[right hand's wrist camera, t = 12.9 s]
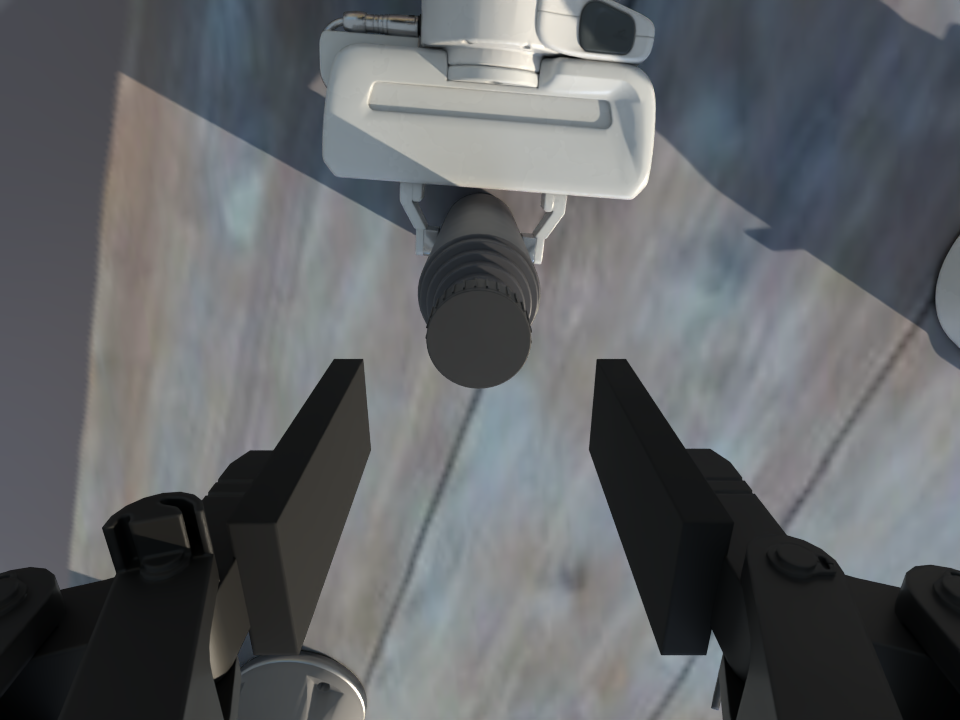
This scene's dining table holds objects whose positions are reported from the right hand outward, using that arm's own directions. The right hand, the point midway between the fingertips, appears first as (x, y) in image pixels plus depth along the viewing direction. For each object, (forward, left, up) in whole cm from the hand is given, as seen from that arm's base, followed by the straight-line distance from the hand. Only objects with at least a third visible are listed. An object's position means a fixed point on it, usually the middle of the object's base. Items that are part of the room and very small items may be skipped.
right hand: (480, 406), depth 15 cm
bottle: (0, 0, -30) cm, 30 cm away
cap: (0, 0, -5) cm, 5 cm away
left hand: (0, -1, -24) cm, 24 cm away
